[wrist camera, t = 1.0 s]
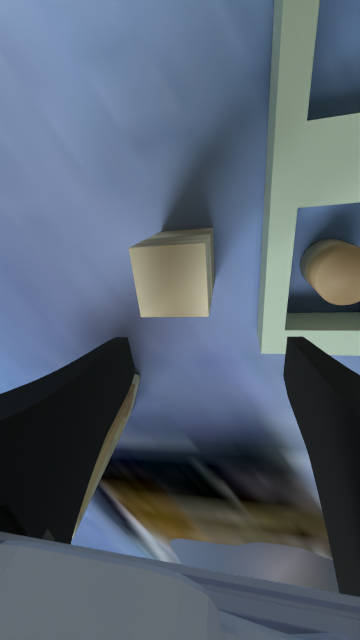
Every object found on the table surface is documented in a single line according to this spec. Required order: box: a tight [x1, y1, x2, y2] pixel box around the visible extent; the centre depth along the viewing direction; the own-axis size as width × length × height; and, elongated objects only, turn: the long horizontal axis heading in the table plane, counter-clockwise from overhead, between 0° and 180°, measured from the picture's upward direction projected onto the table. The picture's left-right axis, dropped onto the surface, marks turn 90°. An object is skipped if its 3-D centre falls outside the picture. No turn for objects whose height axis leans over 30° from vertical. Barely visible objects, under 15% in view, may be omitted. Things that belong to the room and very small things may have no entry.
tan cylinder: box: [300, 238, 360, 305], centre depth 16 cm, size 3×3×4 cm
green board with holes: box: [257, 0, 360, 356], centre depth 14 cm, size 9×24×3 cm, turn 5°
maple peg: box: [129, 228, 215, 317], centre depth 16 cm, size 4×4×7 cm
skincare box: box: [72, 374, 140, 538], centre depth 22 cm, size 6×4×12 cm
